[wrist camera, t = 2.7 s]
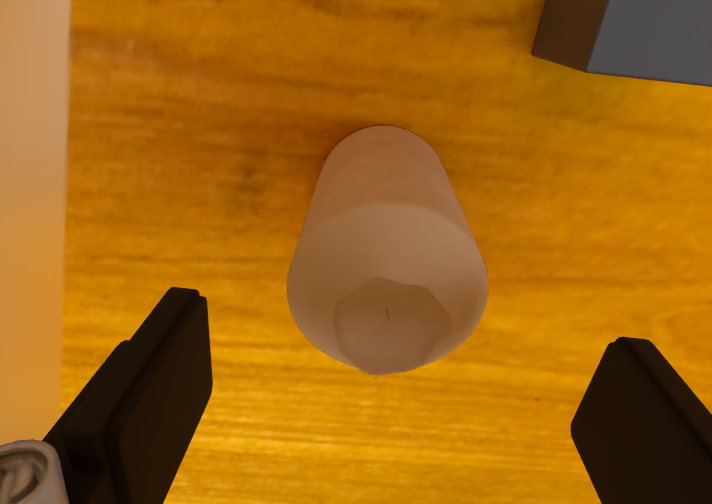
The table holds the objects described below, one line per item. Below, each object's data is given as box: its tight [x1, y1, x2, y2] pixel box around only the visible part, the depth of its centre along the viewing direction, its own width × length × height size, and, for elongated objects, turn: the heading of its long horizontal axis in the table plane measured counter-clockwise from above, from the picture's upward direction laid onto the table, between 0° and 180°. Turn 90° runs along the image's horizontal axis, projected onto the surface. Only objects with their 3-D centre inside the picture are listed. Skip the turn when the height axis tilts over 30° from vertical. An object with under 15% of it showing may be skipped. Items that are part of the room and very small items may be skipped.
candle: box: [287, 126, 488, 375], centre depth 15 cm, size 6×6×10 cm
